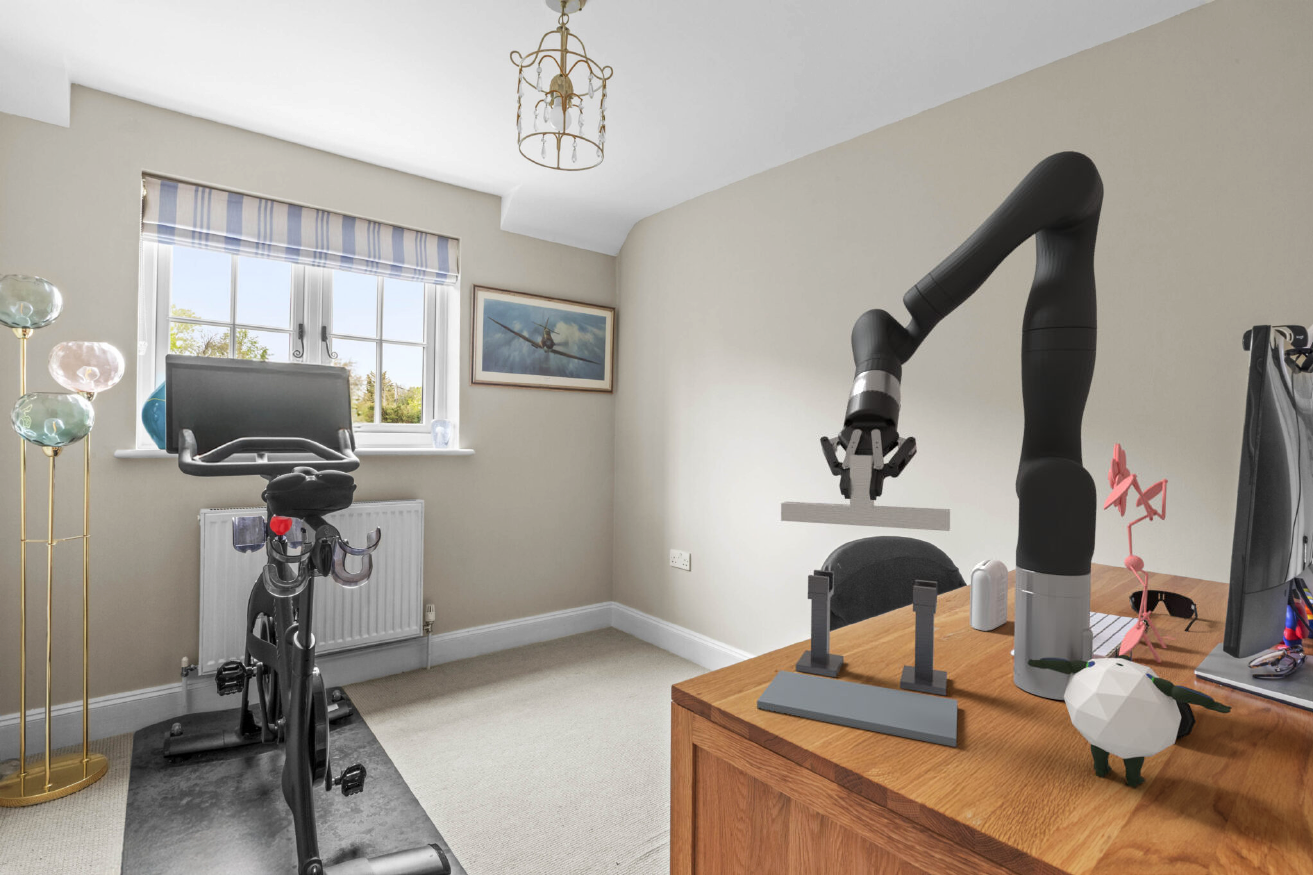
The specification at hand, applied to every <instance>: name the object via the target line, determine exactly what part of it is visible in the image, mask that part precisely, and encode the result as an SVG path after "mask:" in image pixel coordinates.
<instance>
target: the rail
mask: <svg viewBox="0 0 1313 875" xmlns="http://www.w3.org/2000/svg"><path fill="white" fill-rule="evenodd" d="M872 470H874V455H850V499H849V504H848V503H847V504H846V503H845V504H843V503H825V502H824V503H822V502H804V501H803V502H802V501H801V502H800V501H799V502H798V501H784V502H781V503H780V522H781V521H782V522H795V523H796V522H797V523H813V524H829V525H841V526H842V525H845V526H859V527H860V526H862V527H877V528H878V527H879V528H880V527H881V528H894V529H896V528H897V529H909V530H910V529H911V530H927V531H928V530H929V531H943V532H944V531H945V532H950V530H951V509H949V508H934V507H933V508H931V507H930V508H929V507H927V508H926V507H910V506H889V505H888V506H887V505H885V506H884V505H875V500H870V494H869V488H870V481H871V476H872Z"/></svg>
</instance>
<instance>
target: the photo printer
mask: <svg viewBox="0 0 1313 875" xmlns="http://www.w3.org/2000/svg"><path fill="white" fill-rule="evenodd" d="M1008 581H1009V570H1008V567H1007V566H1006V564H1005V563H1004V562H1002V561H1000V559H999V560H998V559H991V558H988V559H984V560H983V561H981V562H979V563H978V564H976V565H975V566H974V567H973V569H972V570H971V574H970V587H969V588H970V596H969V598H970V599H969V624H970V627H972V629H973V630H979V631H985V632H988V631H992V630H994V629H996V628H998V627H1000V626H1002V625H1003V624H1005V623H1007V621H1008V600H1009V599H1008V594H1009V593H1008V590H1009V588H1008V587H1009V582H1008Z"/></svg>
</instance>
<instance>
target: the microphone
mask: <svg viewBox="0 0 1313 875" xmlns="http://www.w3.org/2000/svg"><path fill="white" fill-rule="evenodd" d="M1176 703H1177V706H1178V709H1179V712H1180V714H1181V721H1180V725H1179V728H1178V732H1177V736H1176V738H1177V739H1176V740H1178V739H1182V738H1184V737H1187V736H1189V735H1191V733H1192V730H1193V728H1194V726H1195V724H1196V718H1195V715H1194V711H1193V710H1192V707H1191V704H1189V703H1184V702H1179V701H1176Z"/></svg>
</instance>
